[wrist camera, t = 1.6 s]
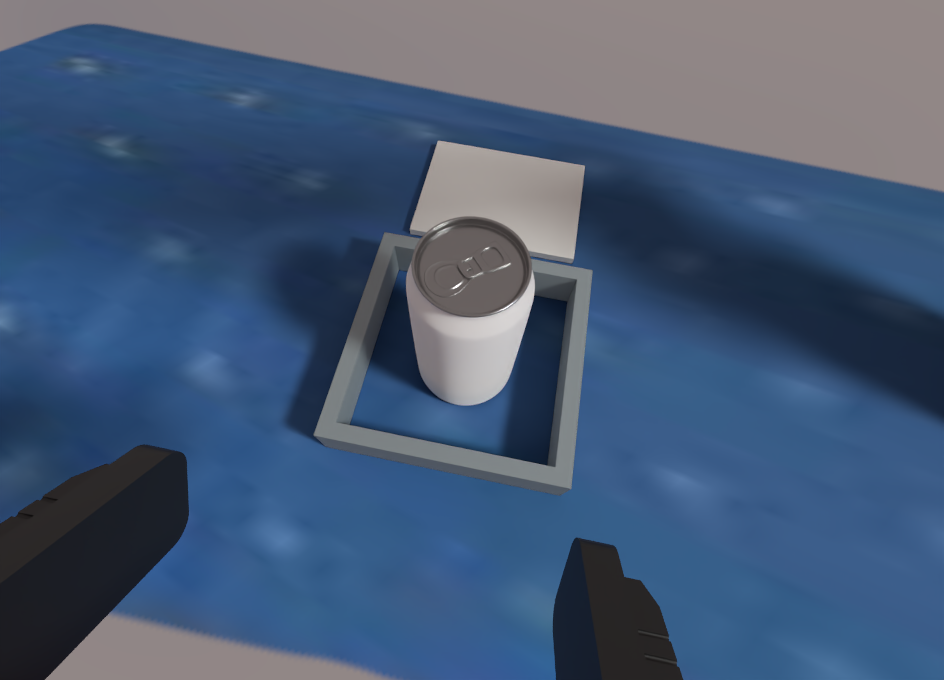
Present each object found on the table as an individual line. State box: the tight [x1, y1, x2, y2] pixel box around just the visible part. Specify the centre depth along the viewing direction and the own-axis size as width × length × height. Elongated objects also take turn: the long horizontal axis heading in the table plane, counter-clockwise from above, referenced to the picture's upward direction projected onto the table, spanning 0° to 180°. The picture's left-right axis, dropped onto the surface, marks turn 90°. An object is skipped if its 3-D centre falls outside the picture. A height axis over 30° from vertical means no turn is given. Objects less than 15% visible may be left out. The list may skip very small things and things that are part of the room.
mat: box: [410, 141, 585, 264], centre depth 38 cm, size 13×10×1 cm
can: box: [406, 216, 535, 405], centre depth 27 cm, size 6×6×12 cm
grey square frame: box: [314, 232, 593, 496], centre depth 31 cm, size 15×15×3 cm
